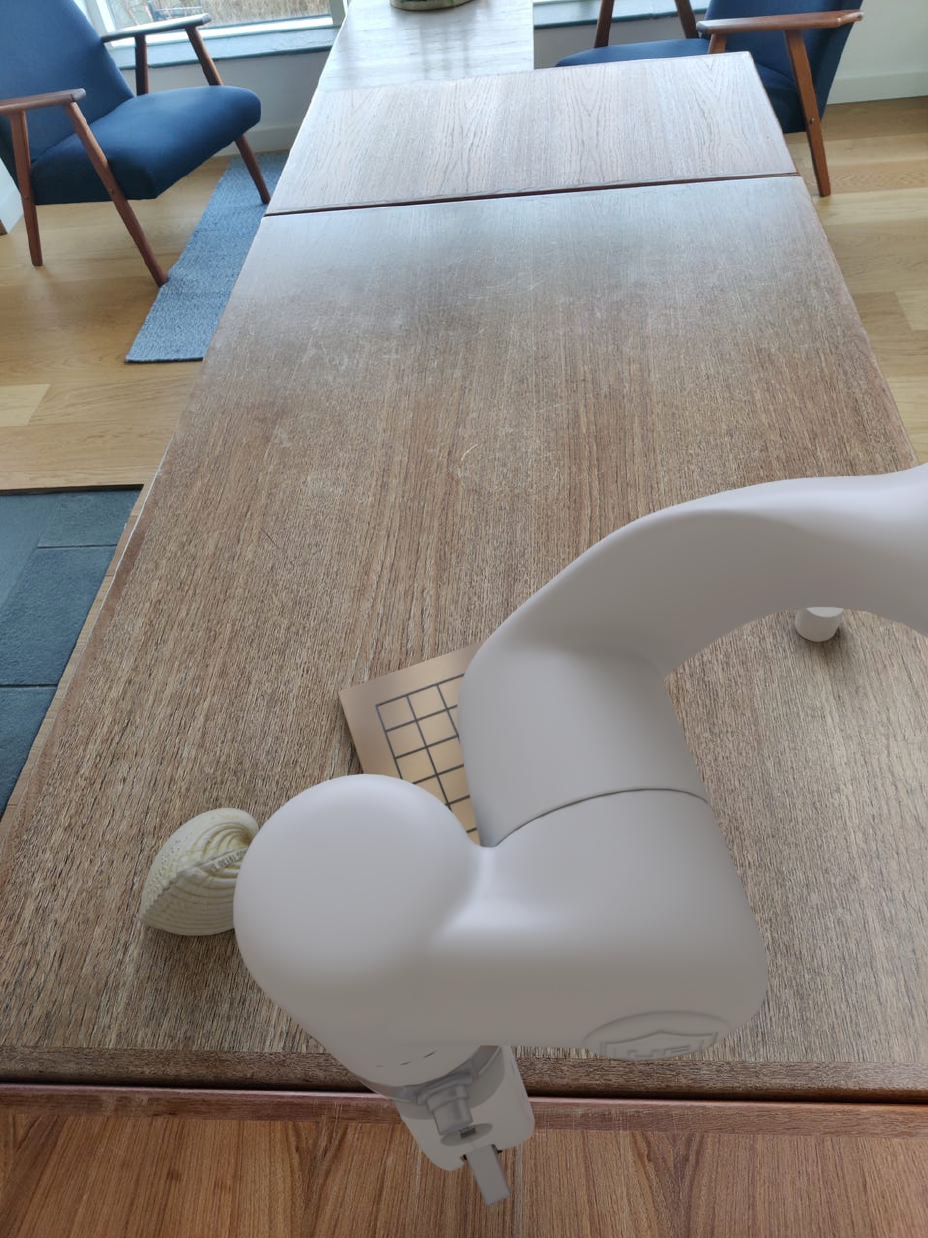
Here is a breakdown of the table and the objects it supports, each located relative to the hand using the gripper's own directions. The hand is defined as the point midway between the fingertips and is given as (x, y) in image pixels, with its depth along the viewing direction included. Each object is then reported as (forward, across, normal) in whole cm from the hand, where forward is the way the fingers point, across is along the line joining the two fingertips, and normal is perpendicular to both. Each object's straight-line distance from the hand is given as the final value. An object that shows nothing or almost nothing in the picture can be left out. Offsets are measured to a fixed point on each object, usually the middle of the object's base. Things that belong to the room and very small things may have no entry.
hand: (467, 1079), depth 49 cm
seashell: (+5, +19, +12) cm, 23 cm away
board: (+5, +20, -10) cm, 23 cm away
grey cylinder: (+5, +22, -37) cm, 43 cm away
